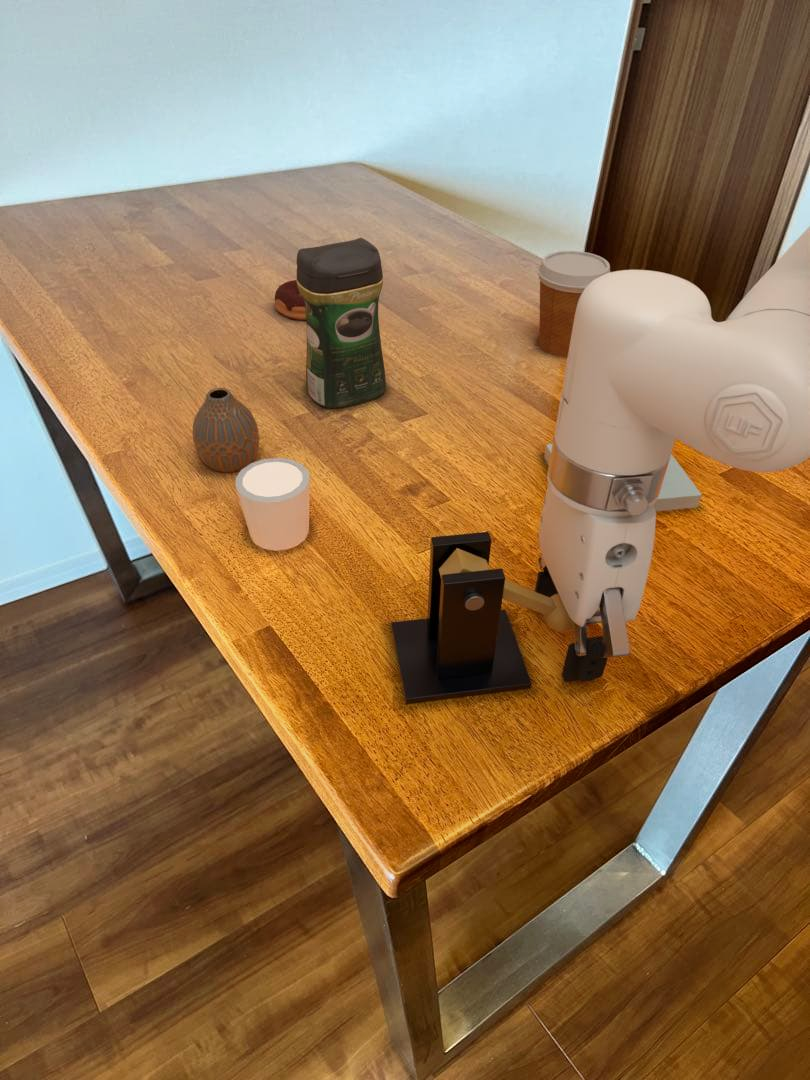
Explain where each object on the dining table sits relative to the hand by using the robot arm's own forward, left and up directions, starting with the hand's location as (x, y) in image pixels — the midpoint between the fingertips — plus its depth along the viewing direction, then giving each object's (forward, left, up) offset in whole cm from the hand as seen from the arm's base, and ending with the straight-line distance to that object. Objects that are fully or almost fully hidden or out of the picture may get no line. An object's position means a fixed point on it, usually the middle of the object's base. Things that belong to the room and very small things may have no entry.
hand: (565, 638), depth 61 cm
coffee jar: (+14, -44, -1) cm, 46 cm away
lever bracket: (+9, 0, -1) cm, 9 cm away
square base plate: (-13, -21, -1) cm, 25 cm away
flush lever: (+6, 0, +5) cm, 7 cm away
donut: (+17, -69, -1) cm, 71 cm away
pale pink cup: (+23, -18, -1) cm, 29 cm away
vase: (+28, -31, -1) cm, 42 cm away
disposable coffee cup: (-17, -52, -1) cm, 55 cm away
